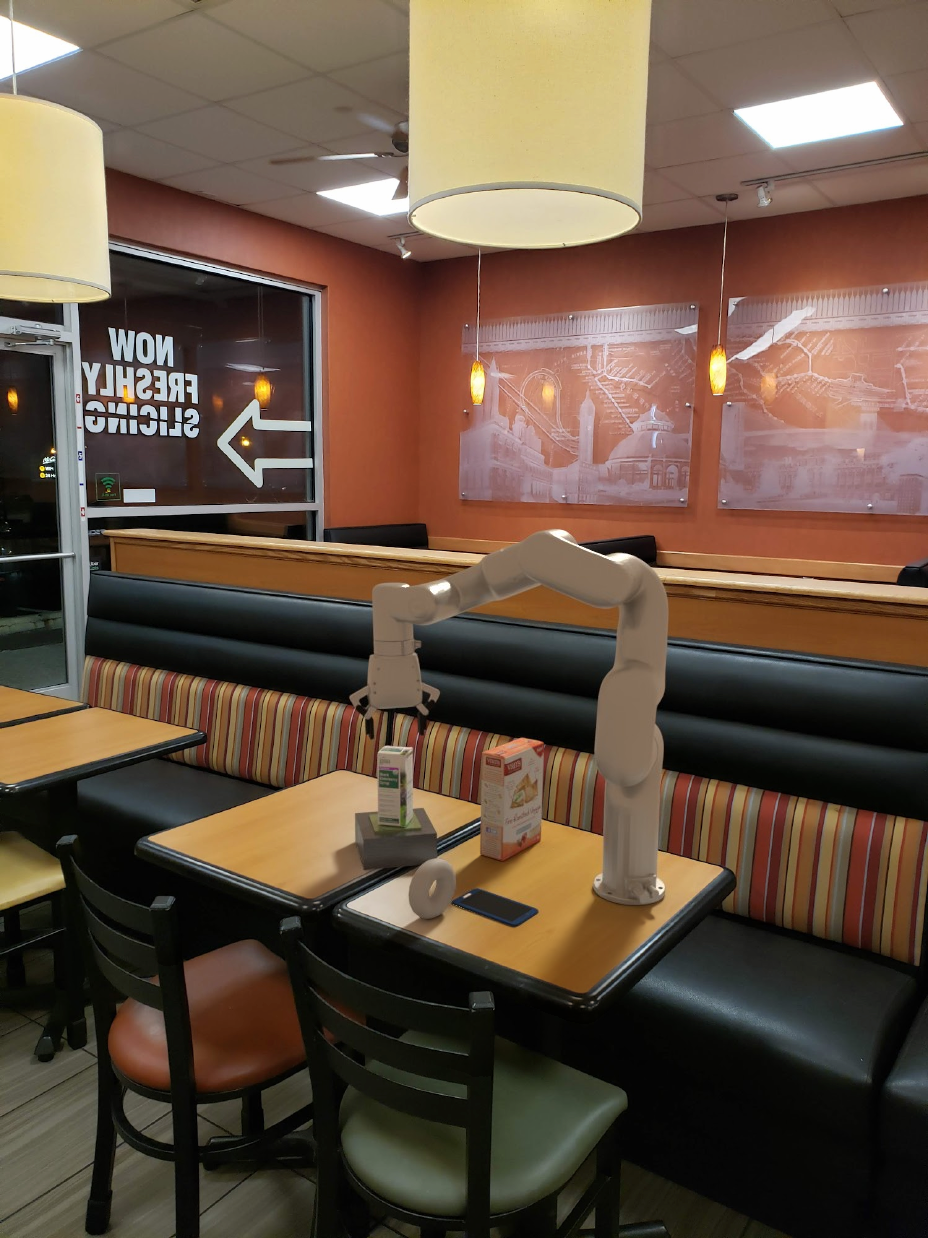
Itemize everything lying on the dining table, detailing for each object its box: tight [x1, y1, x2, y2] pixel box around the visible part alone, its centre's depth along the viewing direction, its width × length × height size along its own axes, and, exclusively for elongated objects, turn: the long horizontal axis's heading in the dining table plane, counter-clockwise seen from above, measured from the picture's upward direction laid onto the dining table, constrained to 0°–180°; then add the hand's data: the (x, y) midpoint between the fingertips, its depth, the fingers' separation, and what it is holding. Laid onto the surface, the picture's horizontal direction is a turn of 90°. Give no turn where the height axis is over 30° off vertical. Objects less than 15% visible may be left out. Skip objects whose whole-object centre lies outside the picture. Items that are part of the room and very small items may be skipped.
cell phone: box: [451, 887, 539, 928], centre depth 155 cm, size 7×14×1 cm, turn 52°
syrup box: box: [376, 745, 414, 827], centre depth 176 cm, size 6×6×14 cm
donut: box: [408, 857, 457, 920], centre depth 150 cm, size 10×4×10 cm, turn 139°
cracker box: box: [479, 737, 545, 862], centre depth 179 cm, size 14×6×21 cm, turn 143°
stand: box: [354, 807, 438, 871], centre depth 177 cm, size 14×14×6 cm
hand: (396, 735), depth 174 cm, fingers open, 9 cm apart
